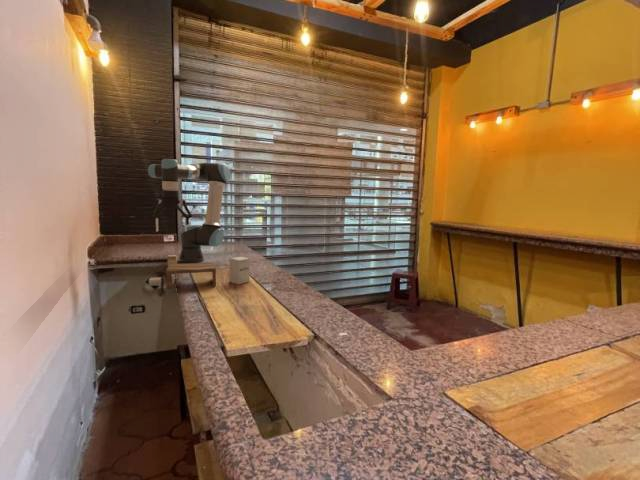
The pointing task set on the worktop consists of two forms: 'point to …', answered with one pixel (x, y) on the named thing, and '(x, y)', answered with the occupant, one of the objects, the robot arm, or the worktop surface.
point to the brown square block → (155, 281)
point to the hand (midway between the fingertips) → (171, 231)
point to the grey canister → (239, 270)
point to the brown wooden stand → (189, 270)
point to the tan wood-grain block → (172, 260)
